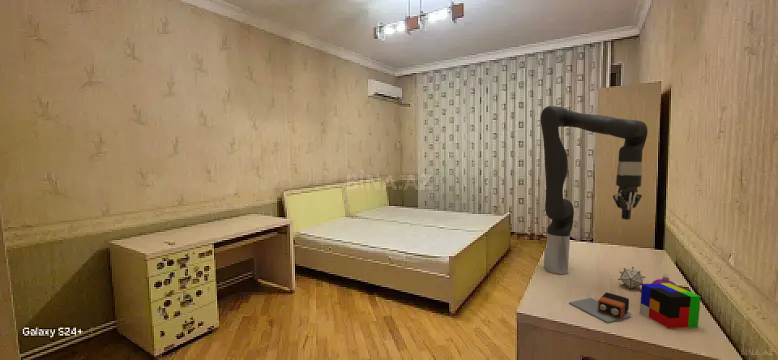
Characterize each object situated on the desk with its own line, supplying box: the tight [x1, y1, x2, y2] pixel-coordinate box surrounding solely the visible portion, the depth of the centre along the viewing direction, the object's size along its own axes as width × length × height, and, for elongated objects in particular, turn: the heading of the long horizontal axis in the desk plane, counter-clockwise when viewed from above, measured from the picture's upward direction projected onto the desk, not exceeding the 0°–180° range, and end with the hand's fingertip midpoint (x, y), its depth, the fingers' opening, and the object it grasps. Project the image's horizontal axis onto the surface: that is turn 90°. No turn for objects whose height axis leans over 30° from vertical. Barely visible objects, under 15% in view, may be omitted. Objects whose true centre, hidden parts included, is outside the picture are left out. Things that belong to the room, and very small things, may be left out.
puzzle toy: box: [639, 283, 702, 329], centre depth 101 cm, size 10×10×10 cm
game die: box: [617, 266, 646, 291], centre depth 126 cm, size 9×8×10 cm
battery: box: [597, 292, 630, 319], centre depth 105 cm, size 4×7×10 cm
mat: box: [568, 297, 632, 324], centre depth 107 cm, size 14×11×1 cm
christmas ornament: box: [651, 274, 679, 287], centre depth 114 cm, size 8×8×10 cm
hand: (625, 219), depth 119 cm, fingers closed
